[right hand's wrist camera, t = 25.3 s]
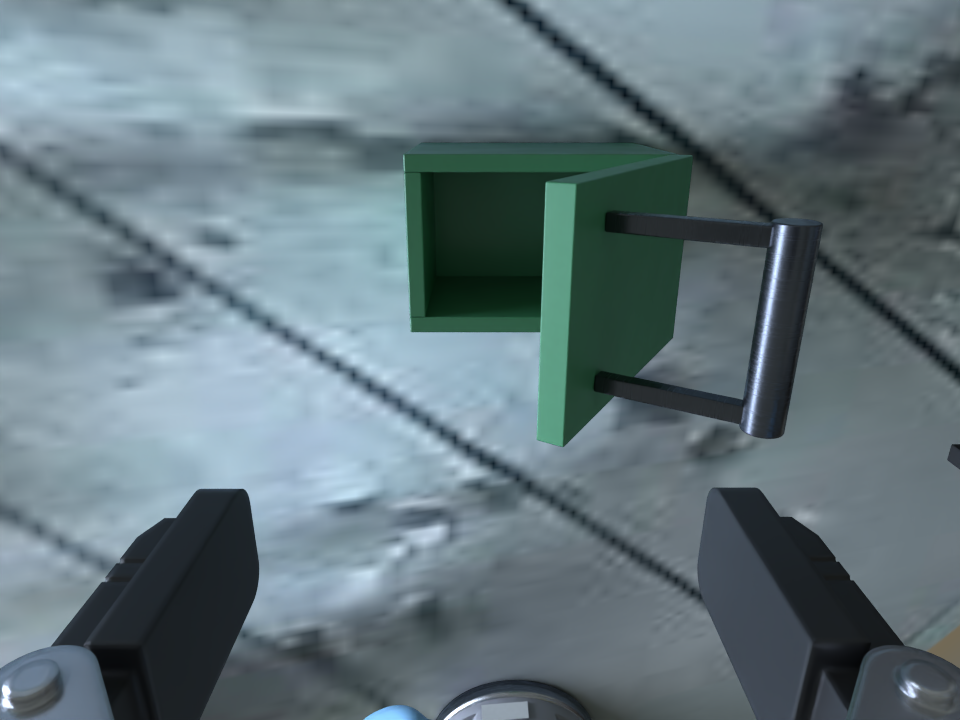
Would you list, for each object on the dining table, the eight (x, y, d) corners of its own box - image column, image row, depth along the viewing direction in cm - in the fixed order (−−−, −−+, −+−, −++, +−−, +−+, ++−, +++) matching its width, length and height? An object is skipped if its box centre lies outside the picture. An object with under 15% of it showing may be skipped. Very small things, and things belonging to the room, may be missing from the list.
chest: (424, 285, 45) (410, 332, 36) (420, 142, 42) (402, 153, 33) (622, 285, 45) (659, 332, 36) (634, 142, 42) (678, 154, 33)
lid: (536, 440, 25) (764, 503, 21) (545, 181, 21) (819, 198, 17) (652, 334, 36) (814, 362, 32) (670, 154, 32) (854, 161, 29)
